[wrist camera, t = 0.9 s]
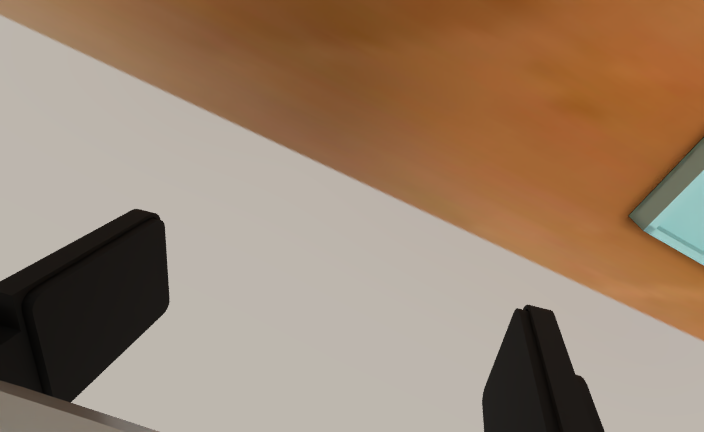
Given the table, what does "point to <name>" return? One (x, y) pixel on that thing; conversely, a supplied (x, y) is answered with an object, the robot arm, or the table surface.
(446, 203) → the table surface
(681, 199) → the tray
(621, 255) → the table surface
